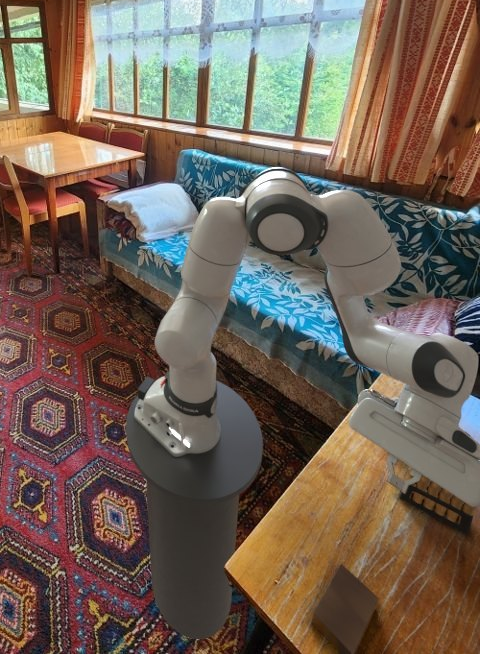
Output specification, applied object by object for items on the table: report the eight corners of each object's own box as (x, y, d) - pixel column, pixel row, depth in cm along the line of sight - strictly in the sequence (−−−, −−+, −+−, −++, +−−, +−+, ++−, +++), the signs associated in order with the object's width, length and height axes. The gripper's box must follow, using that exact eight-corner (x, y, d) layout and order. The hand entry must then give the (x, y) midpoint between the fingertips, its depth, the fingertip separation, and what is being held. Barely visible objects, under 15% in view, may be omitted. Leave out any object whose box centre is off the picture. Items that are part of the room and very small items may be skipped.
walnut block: (338, 572, 66) (311, 622, 61) (340, 562, 65) (313, 612, 60) (375, 608, 62) (350, 665, 56) (379, 598, 61) (353, 655, 55)
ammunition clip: (467, 526, 72) (484, 485, 68) (467, 535, 70) (485, 493, 66) (399, 490, 78) (411, 451, 74) (399, 498, 77) (411, 458, 73)
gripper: (361, 381, 76) (333, 444, 74) (498, 457, 60) (468, 540, 58) (366, 386, 80) (339, 446, 78) (496, 459, 64) (467, 536, 62)
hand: (395, 487), depth 68 cm, fingers closed
